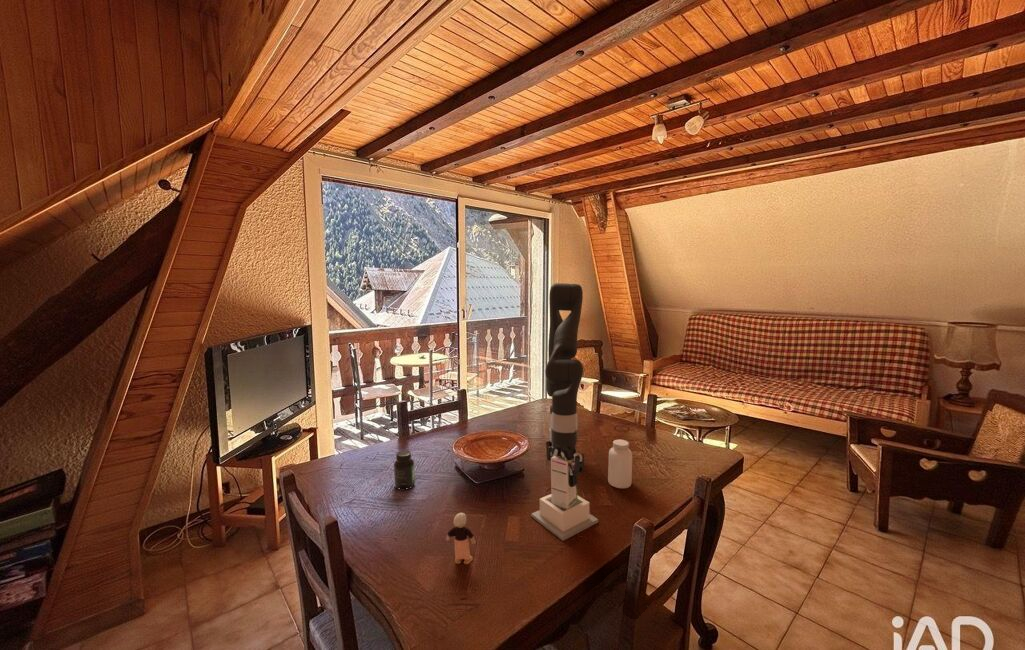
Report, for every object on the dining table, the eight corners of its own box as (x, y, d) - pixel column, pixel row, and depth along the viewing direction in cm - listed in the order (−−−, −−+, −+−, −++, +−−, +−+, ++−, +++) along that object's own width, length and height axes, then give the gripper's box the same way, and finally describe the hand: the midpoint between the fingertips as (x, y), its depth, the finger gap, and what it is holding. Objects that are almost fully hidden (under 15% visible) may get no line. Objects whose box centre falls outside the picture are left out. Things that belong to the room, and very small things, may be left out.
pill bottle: (632, 490, 136) (633, 447, 134) (608, 488, 137) (609, 446, 136) (630, 478, 144) (631, 438, 142) (607, 476, 145) (608, 436, 143)
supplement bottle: (418, 485, 141) (417, 452, 140) (401, 493, 136) (400, 459, 135) (408, 479, 146) (406, 447, 144) (391, 486, 141) (389, 453, 139)
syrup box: (568, 510, 115) (568, 462, 114) (550, 503, 119) (550, 456, 117) (577, 501, 120) (578, 455, 118) (560, 495, 124) (560, 450, 122)
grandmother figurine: (476, 554, 105) (475, 509, 104) (476, 564, 102) (474, 517, 100) (447, 555, 105) (445, 510, 104) (445, 565, 101) (443, 518, 100)
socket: (531, 516, 122) (531, 498, 121) (565, 501, 130) (565, 483, 129) (562, 540, 110) (562, 520, 110) (598, 522, 118) (598, 503, 118)
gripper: (538, 422, 120) (539, 475, 122) (572, 437, 109) (572, 495, 111) (557, 417, 125) (557, 468, 127) (591, 431, 113) (591, 487, 115)
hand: (564, 480), depth 119 cm, fingers closed on syrup box, 6 cm apart
